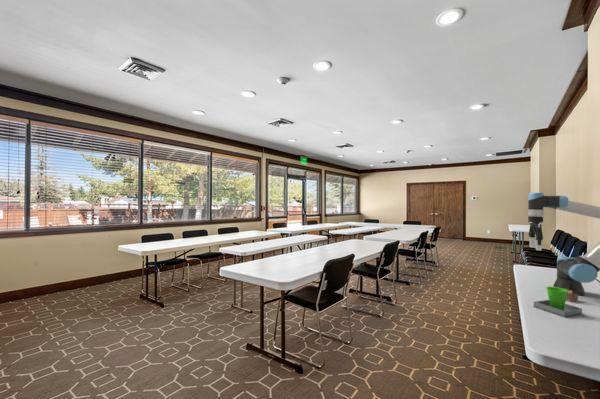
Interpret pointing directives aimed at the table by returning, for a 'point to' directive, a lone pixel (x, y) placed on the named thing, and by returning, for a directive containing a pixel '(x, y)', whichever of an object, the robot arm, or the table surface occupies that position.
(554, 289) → the cup
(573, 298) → the block
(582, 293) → the robot arm
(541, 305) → the tray
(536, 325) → the table surface
